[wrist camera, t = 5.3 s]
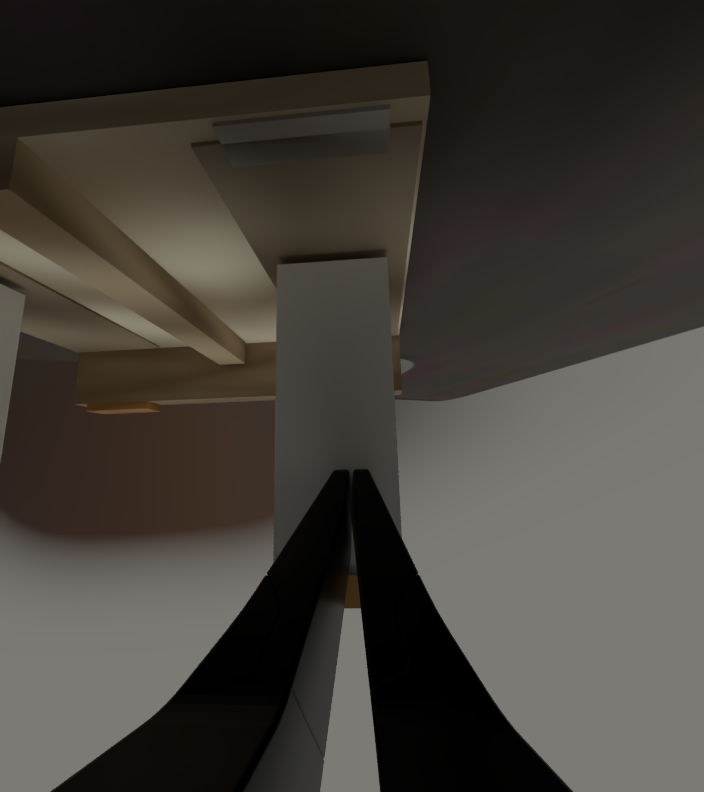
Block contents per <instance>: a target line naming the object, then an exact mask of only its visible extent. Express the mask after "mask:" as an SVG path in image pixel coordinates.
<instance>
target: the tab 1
mask: <svg viewBox="0 0 704 792" xmlns="http://www.w3.org/2000/svg"><path fill="white" fill-rule="evenodd" d="M24 303H25V295H23V294H21V293H19V292H17V291H15V290H12V289H10V288H8V287H6V286H4V285H2V284H0V460H1V454H2V448H3V441H4V435H5V428H6V422H7V415H8V408H9V402H10V395H11V389H12V382H13V375H14V369H15V362H16V356H17V349H18V343H19V336H20V329H21V323H22V316H23V310H24Z"/></svg>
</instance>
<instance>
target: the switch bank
mask: <svg viewBox="0 0 704 792" xmlns="http://www.w3.org/2000/svg"><path fill="white" fill-rule="evenodd" d="M430 96H431V94H430V82H429V70H428V61H420V62H411V63H402V64H392V65H383V66H374V67H365V68H356V69H347V70H337V71H328V72H319V73H310V74H301V75H292V76H283V77H273V78H264V79H255V80H246V81H237V82H228V83H218V84H209V85H200V86H191V87H182V88H173V89H163V90H154V91H145V92H136V93H127V94H118V95H109V96H99V97H90V98H81V99H72V100H63V101H54V102H44V103H35V104H26V105H17V106H8V107H0V284H2V285H4V286H6V287H8V288H10V289H12V290H15V291H17V292H19V293H21V294H23V295H25V303H24V310H23V316H22V323H21V329H20V331H21V332H24V333H26V334H29V335H32V336H34V337H37V338H40V339H43V340H45V341H48V342H51V343H53V344H56V345H59V346H62V347H64V348H67V349H70V350H72V351H75V352H80V360H79V370H78V377H77V386H76V396H75V403H74V404H75V405H80V406H85V407H87V409H86V411H89V412H94V413H100V414H116V413H140V412H160V409H161V405H168V404H192V403H215V402H239V401H262V400H275V399H276V316H277V265H281V264H296V263H310V262H324V261H338V260H353V259H367V258H381V257H387V259H388V279H389V299H390V318H391V338H392V358H393V378H394V395H401V392H402V382H401V365H400V346H399V331H400V323H401V316H402V308H403V300H404V293H405V285H406V278H407V270H408V263H409V255H410V247H411V240H412V232H413V225H414V217H415V210H416V202H417V194H418V187H419V179H420V172H421V164H422V157H423V149H424V141H425V134H426V126H427V119H428V111H429V104H430Z"/></svg>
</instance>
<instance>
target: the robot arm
mask: <svg viewBox="0 0 704 792" xmlns="http://www.w3.org/2000/svg"><path fill="white" fill-rule="evenodd" d="M352 530H353V540H354V549H355V558H356V567H357V576H358V585H359V595H360V604H361V613H362V622H363V631H364V640H365V648H366V659H367V668H368V677H369V686H370V695H371V705H372V714H373V724H374V733H375V743H376V752H377V763H378V772H379V783H380V792H573V791H572V790H571V789H570V788H569V787H568V786H567V785H566V783H565V782H563V780H562V779H561V778H560V777H559V776H558V775H557V774H556V773H555V772H554V771H553V770H552V769H551V767H550V766H549V765H548V764H547V763H546V762H545V761H544V760H543V759H542V758H541V757H540V756H539V755H538V754H537V752H536V751H535V750H534V749H533V748H532V747H531V746H530V745H529V744H528V743H527V742H526V741H525V740H524V739H523V738H522V736H521V735H520V734H519V733H518V732H517V731H516V730H515V729H514V728H513V726H512V725H511V724H510V722H509V721H508V720H507V718H506V717H505V716H504V714H503V713H502V712H501V710H500V709H499V708H498V706H497V705H496V703H495V702H494V700H493V699H492V697H491V696H490V694H489V693H488V691H487V690H486V688H485V687H484V685H483V683H482V682H481V680H480V679H479V677H478V676H477V674H476V672H475V671H474V670H473V668H472V666H471V665H470V663H469V661H468V660H467V658H466V657H465V655H464V654H463V652H462V650H461V649H460V647H459V646H458V644H457V643H456V641H455V639H454V638H453V637H452V635H451V633H450V631H449V630H448V628H447V626H446V625H445V623H444V621H443V619H442V618H441V616H440V614H439V613H438V611H437V609H436V608H435V605H434V603H433V601H432V599H431V598H430V596H429V594H428V592H427V590H426V588H425V586H424V584H423V582H422V579H421V577H420V576H419V575H418V571H417V569H416V567H415V565H414V563H413V561H412V559H411V557H410V555H409V553H408V550H407V548H406V547H405V544H404V542H403V540H402V538H401V536H400V534H399V532H398V530H397V527H396V525H395V523H394V521H393V519H392V517H391V515H390V513H389V511H388V509H387V507H386V504H385V502H384V500H383V498H382V496H381V494H380V492H379V490H378V488H377V486H376V484H375V481H374V479H373V477H372V475H371V473H370V471H369V470H368V469H355V470H354V471H353V479H352V487H351V479H350V472H349V470H347V469H339V470H334V471H333V472H332V474H331V475H330V477H329V478H328V480H327V481H326V483H325V484H324V486H323V488H322V489H321V491H320V492H319V494H318V495H317V497H316V498H315V500H314V501H313V503H312V504H311V506H310V508H309V509H308V511H307V512H306V514H305V515H304V517H303V518H302V520H301V521H300V523H299V525H298V526H297V528H296V529H295V531H294V532H293V534H292V535H291V537H290V538H289V540H288V541H287V543H286V545H285V546H284V548H283V549H282V551H281V552H280V554H279V555H278V557H277V558H276V560H275V561H274V563H273V565H272V566H271V568H270V570H269V571H268V572H267V575H268V576H265V577H264V578H263V580H262V581H261V583H260V584H259V586H258V587H257V589H256V591H255V592H254V594H253V595H252V596H251V598H250V599H249V601H248V602H247V604H246V605H245V607H244V608H243V609H242V611H241V612H240V613H239V615H238V616H237V617H236V619H235V620H234V621H233V623H232V624H231V625H230V626H229V628H228V629H227V630H226V632H225V633H224V634H223V635H222V637H221V638H220V639H219V640H218V642H217V643H216V644H215V645H214V647H213V648H212V649H211V650H210V652H209V653H208V654H207V655H206V657H205V658H204V659H203V660H202V662H201V663H200V664H199V665H198V667H197V668H196V669H195V670H194V672H193V673H192V674H191V675H190V677H189V678H188V679H187V680H186V682H185V683H184V684H183V685H182V686H181V688H180V689H179V690H178V691H177V692H176V694H175V695H174V696H173V697H172V698H171V699H170V700H169V701H168V702H167V704H165V705H164V706H163V707H162V708H161V709H160V710H159V711H158V712H157V713H156V714H155V715H154V716H152V717H151V718H150V719H149V720H148V721H146V722H145V723H144V724H142V725H141V726H140V727H138V728H137V729H135V730H134V731H133V732H131V733H130V734H129V735H127V736H126V737H125V738H123V739H122V740H120V741H119V742H118V743H116V744H115V745H114V746H112V747H111V748H109V749H108V750H107V751H105V752H104V753H103V754H101V755H100V756H99V757H97V758H96V759H94V760H93V761H92V762H91V763H89V764H88V765H86V766H85V767H84V768H82V769H81V770H79V771H78V772H77V773H75V774H74V775H73V776H71V777H70V778H68V779H67V780H66V781H64V782H63V783H62V784H60V785H59V786H58V787H56V788H55V789H53V790H52V791H51V792H320V787H321V779H322V772H323V764H324V760H323V758H324V756H325V748H326V741H327V733H328V725H329V718H330V710H331V703H332V696H333V688H334V680H335V673H336V665H337V658H338V650H339V642H340V635H341V627H342V619H343V612H344V605H345V597H346V590H347V582H348V575H349V567H350V559H351V546H352Z"/></svg>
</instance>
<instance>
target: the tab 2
mask: <svg viewBox="0 0 704 792" xmlns="http://www.w3.org/2000/svg"><path fill="white" fill-rule="evenodd" d="M275 403H276V404H275V483H274V485H275V486H274V561H275V560H276V558H277V557H278V555H279V554H280V552H281V551H282V549H283V548H284V546H285V545H286V543H287V541H288V540H289V538H290V537H291V535H292V534H293V532H294V531H295V529H296V528H297V526H298V525H299V523H300V521H301V520H302V518H303V517H304V515H305V514H306V512H307V511H308V509H309V508H310V506H311V504H312V503H313V501H314V500H315V498H316V497H317V495H318V494H319V492H320V491H321V489H322V488H323V486H324V484H325V483H326V481H327V480H328V478H329V477H330V475H331V474H332V472H333V471H334V470H339V469H347V470H349V472H350V479H351V487H352V479H353V471H354V470H355V469H368V470H369V471H370V473H371V475H372V477H373V479H374V481H375V484H376V486H377V488H378V490H379V492H380V494H381V496H382V498H383V500H384V502H385V504H386V507H387V509H388V511H389V513H390V515H391V517H392V519H393V521H394V523H395V525H396V527H397V530H398V532H399V534H400V536H401V538H402V535H401V516H400V496H399V479H398V478H399V476H398V456H397V438H396V417H395V397H394V378H393V358H392V338H391V318H390V299H389V279H388V259H387V257H381V258H367V259H353V260H338V261H324V262H310V263H296V264H281V265H277V316H276V399H275ZM344 608H361V604H360V595H359V585H358V576H357V567H356V558H355V549H354V540H353V530H352V546H351V559H350V567H349V575H348V582H347V590H346V597H345V605H344Z"/></svg>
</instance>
